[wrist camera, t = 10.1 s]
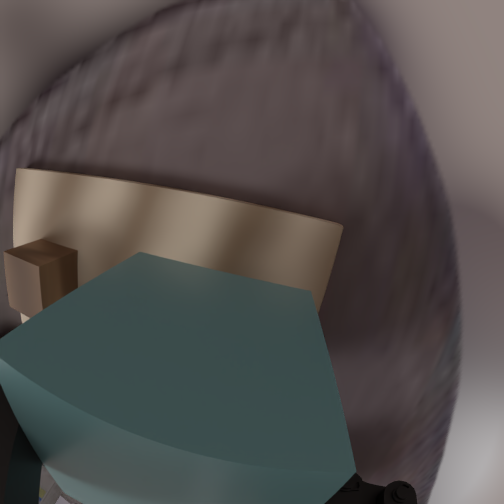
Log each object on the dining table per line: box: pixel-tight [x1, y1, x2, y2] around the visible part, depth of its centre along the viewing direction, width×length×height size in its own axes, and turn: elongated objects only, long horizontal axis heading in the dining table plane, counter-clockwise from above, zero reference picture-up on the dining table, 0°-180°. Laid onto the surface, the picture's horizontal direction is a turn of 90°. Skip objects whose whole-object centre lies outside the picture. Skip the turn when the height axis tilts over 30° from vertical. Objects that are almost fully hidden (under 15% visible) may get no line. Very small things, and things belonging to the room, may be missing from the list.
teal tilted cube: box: [0, 252, 356, 504], centre depth 9 cm, size 8×8×9 cm
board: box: [13, 168, 344, 324], centre depth 17 cm, size 24×14×1 cm, turn 78°
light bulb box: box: [39, 465, 63, 504], centre depth 26 cm, size 11×7×11 cm, turn 75°
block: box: [4, 239, 78, 318], centre depth 15 cm, size 4×4×4 cm
